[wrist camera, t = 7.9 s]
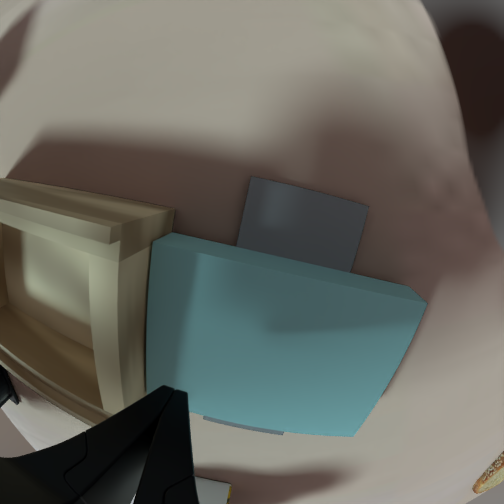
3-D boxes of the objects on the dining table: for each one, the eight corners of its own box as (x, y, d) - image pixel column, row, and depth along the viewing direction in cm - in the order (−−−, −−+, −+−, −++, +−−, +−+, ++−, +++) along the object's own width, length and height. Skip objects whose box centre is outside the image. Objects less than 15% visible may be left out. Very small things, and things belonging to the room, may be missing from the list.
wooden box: (158, 380, 14) (123, 441, 9) (10, 307, 15) (-32, 333, 10) (175, 208, 12) (110, 227, 7) (4, 178, 12) (-51, 185, 7)
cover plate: (347, 412, 13) (353, 436, 11) (160, 375, 14) (146, 397, 12) (408, 286, 11) (427, 303, 9) (172, 232, 12) (152, 241, 10)
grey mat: (282, 431, 14) (282, 435, 14) (204, 415, 15) (202, 419, 14) (366, 205, 11) (369, 206, 11) (251, 176, 11) (251, 175, 11)
